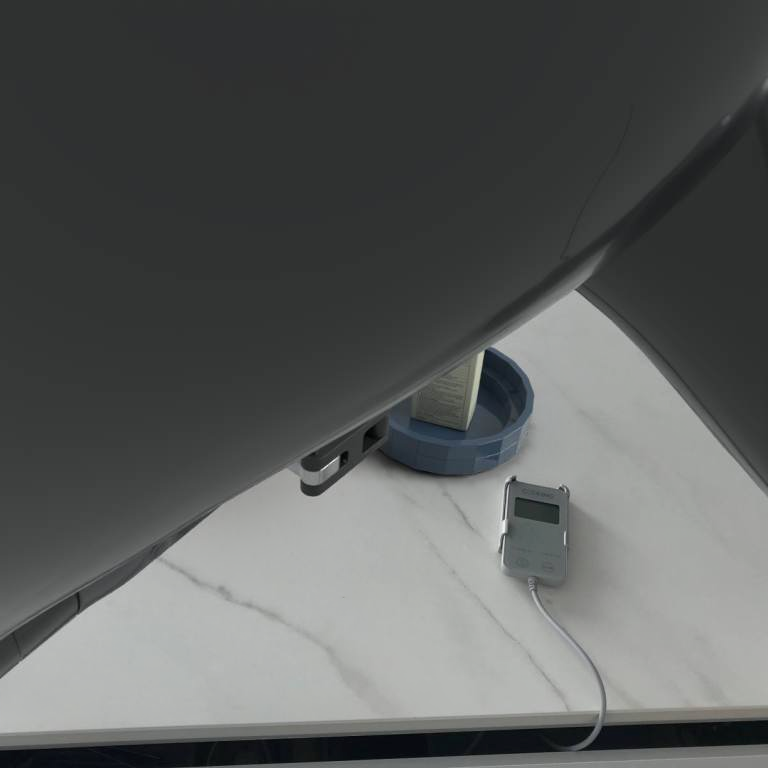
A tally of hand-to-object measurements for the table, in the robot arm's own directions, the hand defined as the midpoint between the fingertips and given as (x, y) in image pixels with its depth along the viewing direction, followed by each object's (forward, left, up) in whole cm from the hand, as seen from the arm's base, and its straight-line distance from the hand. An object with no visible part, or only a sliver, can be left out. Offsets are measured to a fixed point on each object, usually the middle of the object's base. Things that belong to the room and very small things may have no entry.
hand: (337, 326), depth 45 cm
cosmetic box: (+11, -24, -28) cm, 38 cm away
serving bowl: (+11, -24, -28) cm, 38 cm away
